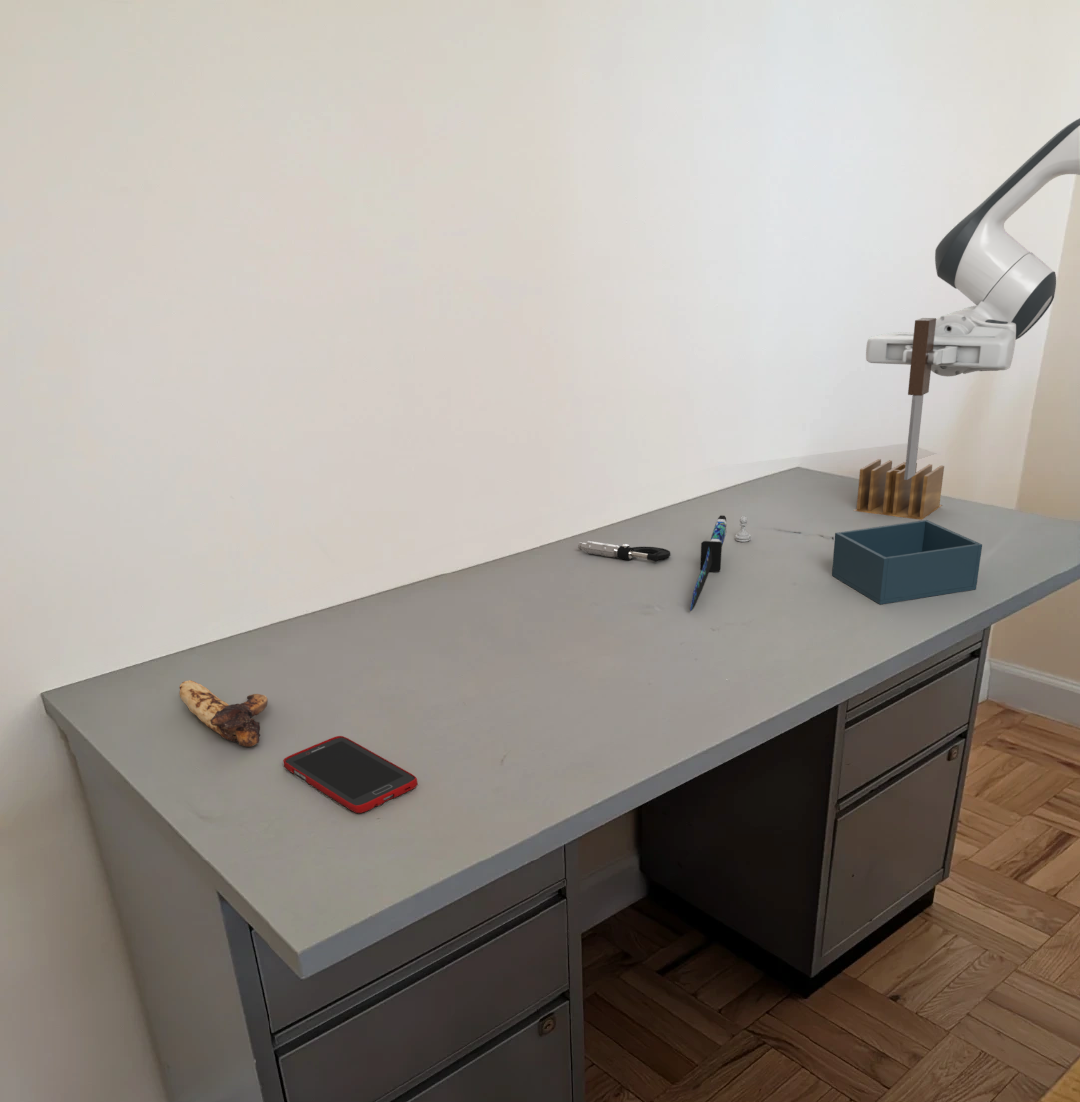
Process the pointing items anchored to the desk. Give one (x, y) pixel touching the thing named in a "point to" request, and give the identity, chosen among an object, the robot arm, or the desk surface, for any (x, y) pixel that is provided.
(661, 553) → the micrometer
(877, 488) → the dish rack
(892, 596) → the open box
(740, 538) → the pawn
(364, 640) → the desk surface
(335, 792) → the cell phone
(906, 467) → the kitchen knife
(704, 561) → the knife
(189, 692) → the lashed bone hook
